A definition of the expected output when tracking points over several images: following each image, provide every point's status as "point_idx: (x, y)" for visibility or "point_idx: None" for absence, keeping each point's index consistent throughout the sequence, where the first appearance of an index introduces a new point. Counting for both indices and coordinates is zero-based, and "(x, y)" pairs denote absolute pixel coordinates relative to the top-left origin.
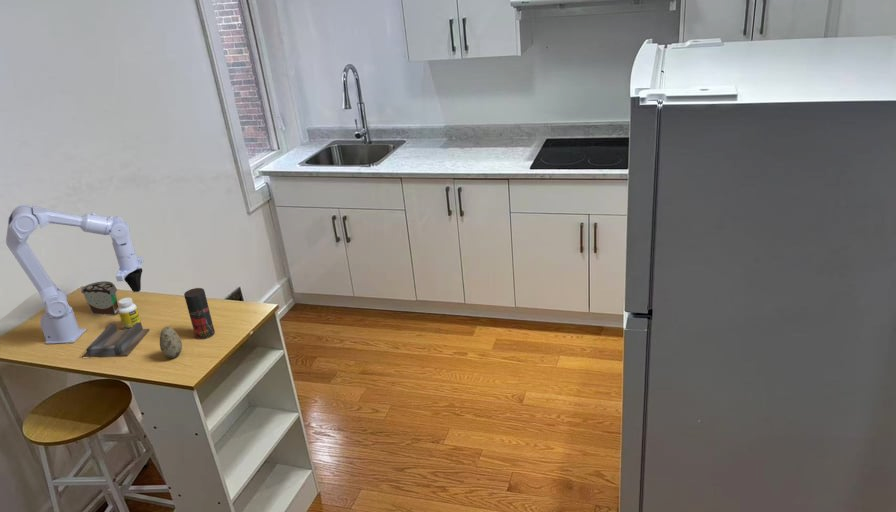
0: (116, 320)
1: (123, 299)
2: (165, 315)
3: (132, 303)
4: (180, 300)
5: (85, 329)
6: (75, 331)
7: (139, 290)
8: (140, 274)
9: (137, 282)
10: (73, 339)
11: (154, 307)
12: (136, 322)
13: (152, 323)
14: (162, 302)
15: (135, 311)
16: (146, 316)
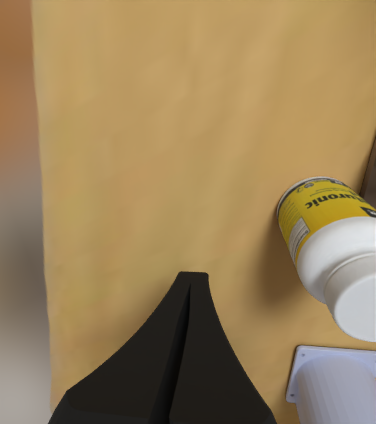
0: (243, 285)
1: (362, 323)
2: (226, 92)
3: (326, 257)
4: (69, 83)
5: (305, 349)
6: (358, 374)
7: (199, 274)
8: (130, 371)
9: (214, 330)
10: (370, 358)
11: (145, 187)
12: (350, 189)
13: (303, 126)
14: (100, 171)
15: (368, 211)
16: (225, 187)
